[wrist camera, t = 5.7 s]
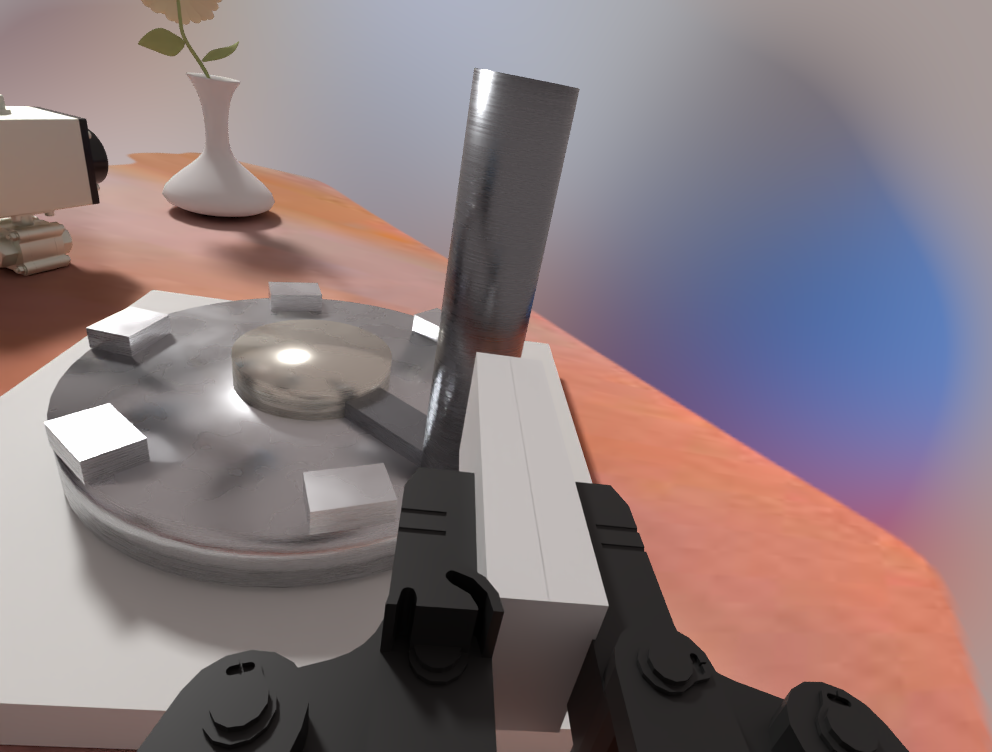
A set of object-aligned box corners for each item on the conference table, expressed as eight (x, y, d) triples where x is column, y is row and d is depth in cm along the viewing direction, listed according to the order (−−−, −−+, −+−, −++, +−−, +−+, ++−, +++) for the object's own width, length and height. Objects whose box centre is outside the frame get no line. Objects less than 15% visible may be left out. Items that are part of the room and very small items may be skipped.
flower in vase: (285, 208, 70) (283, -34, 58) (259, 231, 60) (251, -55, 48) (173, 191, 67) (148, -63, 56) (127, 212, 57) (85, -91, 46)
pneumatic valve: (124, 257, 47) (101, 102, 42) (-29, 295, 37) (-87, 98, 32) (72, 241, 48) (44, 88, 43) (-90, 274, 38) (-156, 80, 33)
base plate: (-364, 730, 14) (-414, 679, 13) (155, 316, 39) (152, 287, 38) (651, 768, 18) (673, 730, 17) (542, 367, 43) (549, 341, 42)
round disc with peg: (-91, 562, 17) (-396, -108, 10) (186, 316, 35) (157, 8, 27) (535, 608, 20) (687, 108, 12) (501, 357, 37) (555, 86, 30)
